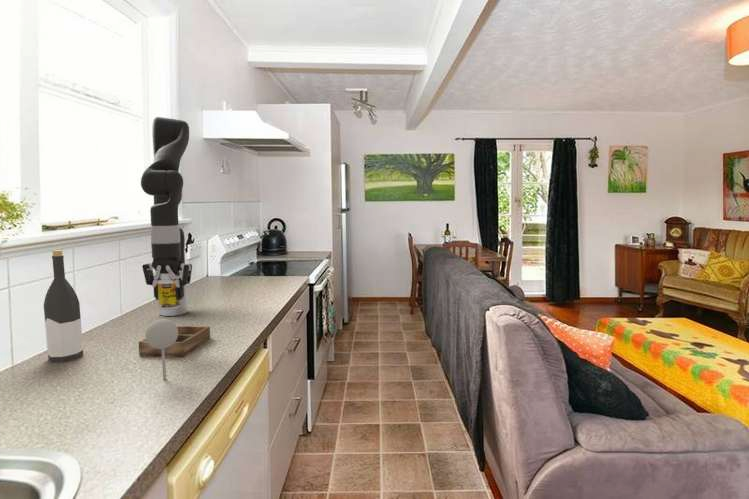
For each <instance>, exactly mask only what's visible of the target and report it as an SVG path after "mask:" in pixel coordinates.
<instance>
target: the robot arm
mask: <svg viewBox="0 0 749 499" xmlns="http://www.w3.org/2000/svg"><path fill="white" fill-rule="evenodd" d="M151 133H152V134H151V135H152V136H151V137H152V148H153V150H152V152H153V161H152V163H151V164H150V165H149V166H148V167H146V169H145V170H144V171H143V173H142V175H141V178H140V186H141V190H142V191H143V192H144V193H145V194H146V195H149V196H152V197H153V205H151V207H150V210H149V212H150V244H151V247H150V249H151V257H152V258H151V259H152V261H151V262H152V263H143V265H142V271H143V275H144V280H145V284H146V285H147V286H152V287H153V297H154V298H155V300H156V301H157V306H158V307H157V308H158V315H159V316H163V317H173V316H181V315H184V314H187V313H188V299H187V298H188V297H187V285H189V284H190V283H191V278H192V272H193V264H192V263H186V258H185V249H186V248H185V247H186V246H185V242H186V241H185V240H186V239H185V238H186V237H185V231H184V230H183V228H181V227H179V226H180V225H179V204H180V203H181V202H182V199H183V187H184V178H183V176H182V174H181V173H180V172H179V170H180V164H181V160H182V157H183V156H184V154H185V151H186V149H187V148H188V145H189V140H190V126H189V123H188V122H187V121H185V120H183V119H182V120H181V119H175V118H170V117H161V116H156V117H154V119H153V120H152V127H151ZM154 271H155V273H154ZM160 274H169V275H170V277H171V279H172V280H173V281H174V283H175V285H176V300H180V306H179V307H178V308H175V309H169V310H164V309H160V308H159V300H158V281H159V280H161V279H160ZM175 275H176V276H175Z"/></svg>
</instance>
